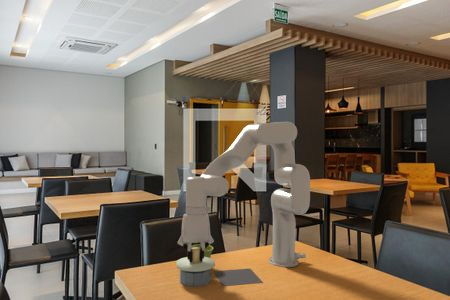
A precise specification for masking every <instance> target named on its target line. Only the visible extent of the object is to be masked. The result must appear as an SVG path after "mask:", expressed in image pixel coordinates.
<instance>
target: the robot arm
mask: <svg viewBox="0 0 450 300" xmlns="http://www.w3.org/2000/svg"><path fill="white" fill-rule="evenodd" d="M297 136H298V129H297V126H296V125H295V124H294V123H292V122H291V121H274V122H263V123H250V124H247V125H246V126H245V127H243V129H242V130H241V132H240V133H239V134H238V136H237V137H236V138H235V140H234V141H233V142H232V143H231V145H230V146H229V148H227V149H226V150H225V152H223V153H221V154H220V155H218V157H216V158H215V159H214V160H212V161H211V162H209V164H208V166H206V168H205V170H203V172H202V173H201V174H200V176H199V175H198V176H194V175H193V176H189V177H187V178H186V181H185V213H184V214H183V215H182V221H181V232H180V233H181V235H180V237H179V239H178V241H177V245H179V246H181V247H183V248H184V249H185V250H186V252H187V253H186V254H187V256H186V257H187V259H188V260H189V261H190V263H191V262H192V251H191V246H192V243H193V244H194V243H195V244H197V243H200V246H201V247H200V261H201V262H203V259H204V250H205V249H206V248H207V247H208V245H211V244H213V243H214V242H215V240H214V238H213V237H212V235H211V226H210V224H211V223H210V218H209V217H210V216H209V213H208V212H211V207H210V206H207V198H208V196H209V197H222V196H225V195H226V194H227V193H228V192H229V188H230V185H229V184H230V183H229V181H228V179H226V178H225V177H223V176H224V175H225V174H226V173H228V172H230V171H232V170H233V169H236V168H239V167H241V166H242V165H245V163H246V162H247V161H248V159H249V158H251V155H252V154H253V153H254V152H255V150H256V149H257V147H259V146H271V148H272V150H273V154H274V155H273V157H274V168H273V170H274V181H275V182H276V183H277V184H278V185H281V186H285V187H289V189H288V188H277V189H275V190H274V191H273V192H272V194H271V197H270V205H271V211H272V251H271V252H272V256H270V257H269V258H268V262H269V264H271V265H273V266H276V267H280V268H281V267H283V268H294V267H297V266H298V265H299V259H306V258H307V254H306V253H301V252H296V225H297V224H296V217H295V215H298V216H300V215H305V214H306V213H307V211H308V210H309V208H310V202H311V176H310V171H309V170H308V169H307V167H306V166H305V165H302V164H300V163H296V158H295V157H296V156H295V148H294V146H293V143H292V142H294V141H295V140H296V139H297Z"/></svg>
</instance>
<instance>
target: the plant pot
mask: <svg viewBox="0 0 450 300" xmlns="http://www.w3.org/2000/svg"><path fill="white" fill-rule="evenodd" d="M193 247H199V248H200V247H201V246H200V244H193V245H191V248H193ZM213 251H214V246H212V245H211V244H209V245H208V247H207V248H206V249H205V250H204V257H208V258H211V256H212V252H213ZM211 259H212V258H211Z"/></svg>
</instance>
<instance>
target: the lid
mask: <svg viewBox="0 0 450 300" xmlns="http://www.w3.org/2000/svg"><path fill="white" fill-rule="evenodd" d="M191 251H192V262H191V263H190V261H189V260H188V259H187V256H186V257H182V258H179V259H177V260H176V262H175V263H176V265H175V267H176V268H177V269H178V270H179V271H180V270H183V271H189V272H200V271H206V270H210V269H211V270H212V269H214V268H215V266H216V261H215V260H214V259H213V258H208V257H204V259H203V262H201V261H200V248H199V247H193V248H191Z"/></svg>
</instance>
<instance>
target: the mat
mask: <svg viewBox="0 0 450 300" xmlns="http://www.w3.org/2000/svg"><path fill="white" fill-rule="evenodd" d="M213 273H214V274H215V276H216V278H217V279H218V281H219V282H220V284H221V286H222V287H231V286H232V287H233V286H242V285H253V284H254V285H255V284H263V283H264V282H263V280H261V278H260V277H259V276H258V275H257V274H256V273H255V272H254V271H253V269H251V268H236V269H224V270H214V271H213Z"/></svg>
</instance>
